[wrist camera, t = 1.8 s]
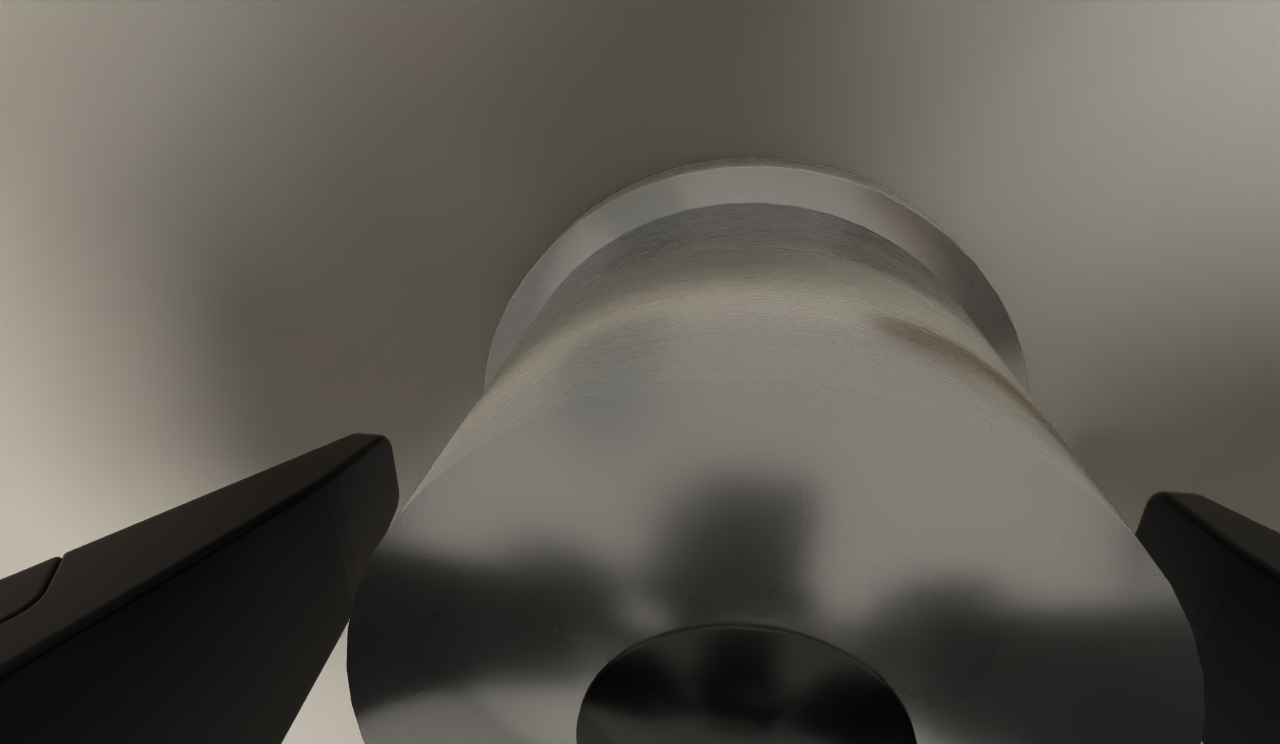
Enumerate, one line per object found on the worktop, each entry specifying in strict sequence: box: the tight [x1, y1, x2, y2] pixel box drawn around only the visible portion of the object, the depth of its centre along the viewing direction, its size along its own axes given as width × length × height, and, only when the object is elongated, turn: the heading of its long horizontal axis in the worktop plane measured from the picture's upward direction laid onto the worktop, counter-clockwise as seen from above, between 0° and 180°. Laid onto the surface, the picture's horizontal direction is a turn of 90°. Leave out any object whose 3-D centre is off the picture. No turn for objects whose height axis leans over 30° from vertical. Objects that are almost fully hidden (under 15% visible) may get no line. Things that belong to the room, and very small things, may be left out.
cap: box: [347, 156, 1205, 744], centre depth 8 cm, size 7×7×6 cm
